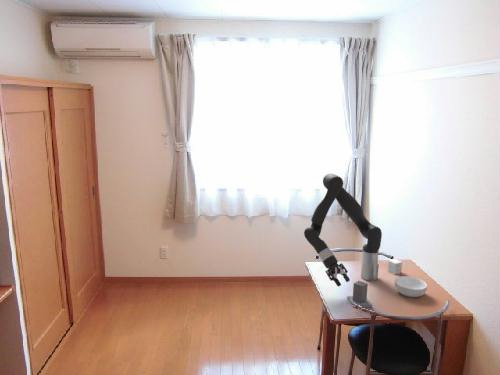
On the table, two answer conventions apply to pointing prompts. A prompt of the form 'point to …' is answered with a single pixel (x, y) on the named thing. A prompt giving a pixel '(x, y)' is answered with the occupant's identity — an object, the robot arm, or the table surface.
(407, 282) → the cereal bowl
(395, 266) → the product box
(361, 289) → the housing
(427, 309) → the table surface
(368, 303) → the stub base
